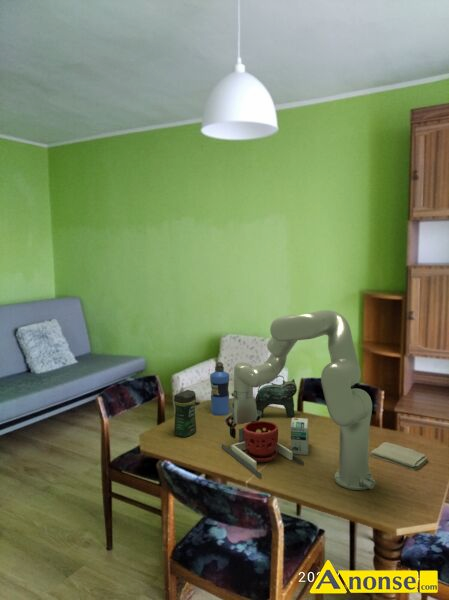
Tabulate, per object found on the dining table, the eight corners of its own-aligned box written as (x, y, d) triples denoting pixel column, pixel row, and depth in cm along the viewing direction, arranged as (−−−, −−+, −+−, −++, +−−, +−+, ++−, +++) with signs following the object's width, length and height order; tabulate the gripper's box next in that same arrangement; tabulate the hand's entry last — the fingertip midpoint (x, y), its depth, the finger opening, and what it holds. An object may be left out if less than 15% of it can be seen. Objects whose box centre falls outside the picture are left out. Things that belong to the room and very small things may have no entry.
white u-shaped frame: (292, 459, 164) (292, 444, 164) (254, 470, 156) (254, 454, 156) (259, 438, 184) (259, 424, 183) (223, 446, 176) (223, 432, 175)
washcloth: (416, 473, 155) (416, 464, 154) (368, 457, 167) (368, 449, 167) (429, 461, 163) (429, 453, 163) (382, 447, 176) (382, 439, 175)
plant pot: (280, 451, 172) (280, 421, 171) (275, 466, 160) (275, 434, 158) (248, 447, 176) (247, 418, 175) (240, 462, 163) (240, 431, 162)
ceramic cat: (296, 414, 212) (296, 373, 210) (298, 419, 205) (298, 377, 203) (254, 414, 212) (254, 374, 210) (255, 419, 206) (255, 377, 204)
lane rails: (303, 465, 160) (303, 461, 160) (260, 478, 151) (260, 474, 151) (261, 438, 184) (261, 434, 184) (221, 448, 175) (221, 444, 175)
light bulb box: (308, 455, 168) (308, 428, 167) (290, 454, 170) (290, 427, 168) (308, 443, 179) (308, 418, 178) (291, 442, 180) (291, 417, 179)
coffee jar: (186, 439, 185) (185, 396, 183) (171, 435, 189) (170, 393, 187) (199, 431, 193) (198, 390, 191) (185, 427, 197) (184, 387, 195)
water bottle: (221, 407, 222) (220, 359, 220) (233, 412, 215) (233, 362, 213) (206, 412, 216) (206, 362, 214) (218, 417, 209) (218, 365, 207)
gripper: (229, 400, 169) (229, 442, 171) (266, 393, 177) (266, 433, 179) (220, 394, 176) (220, 435, 178) (256, 388, 184) (256, 427, 186)
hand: (243, 434), depth 178 cm, fingers open, 9 cm apart
